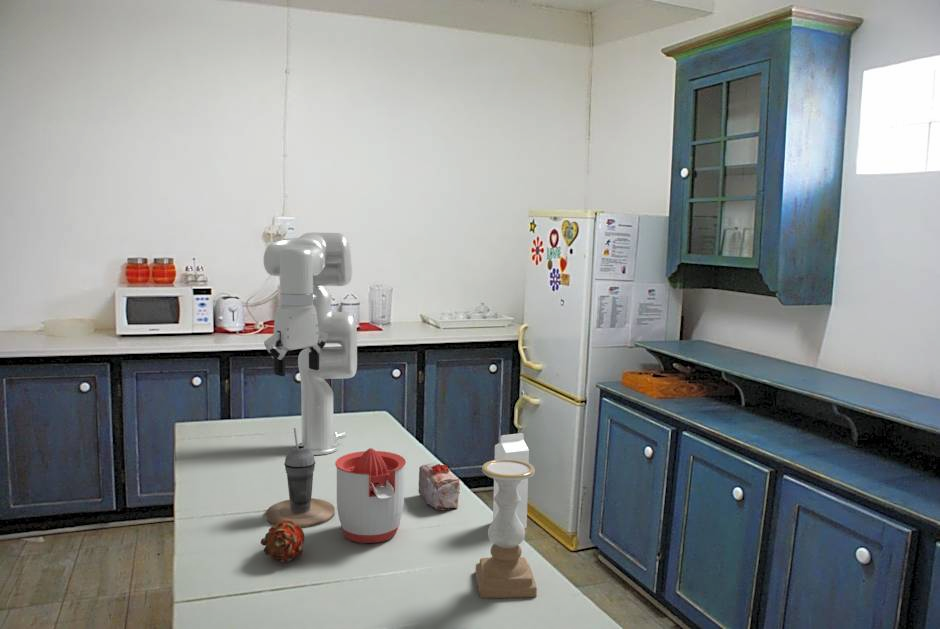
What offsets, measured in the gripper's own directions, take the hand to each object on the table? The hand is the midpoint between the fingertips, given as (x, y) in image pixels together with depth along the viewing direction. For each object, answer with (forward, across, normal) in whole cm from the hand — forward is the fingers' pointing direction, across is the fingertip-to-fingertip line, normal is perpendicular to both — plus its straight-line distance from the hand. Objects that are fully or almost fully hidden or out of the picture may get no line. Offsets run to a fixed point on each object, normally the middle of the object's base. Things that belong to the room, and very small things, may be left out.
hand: (297, 372), depth 177 cm
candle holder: (+34, -5, +60) cm, 69 cm away
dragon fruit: (+34, +18, +19) cm, 43 cm away
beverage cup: (+33, +1, +2) cm, 33 cm away
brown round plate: (+34, +1, +3) cm, 34 cm away
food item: (+35, -27, +21) cm, 49 cm away
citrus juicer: (+34, -2, +24) cm, 42 cm away
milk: (+34, -28, +43) cm, 62 cm away
